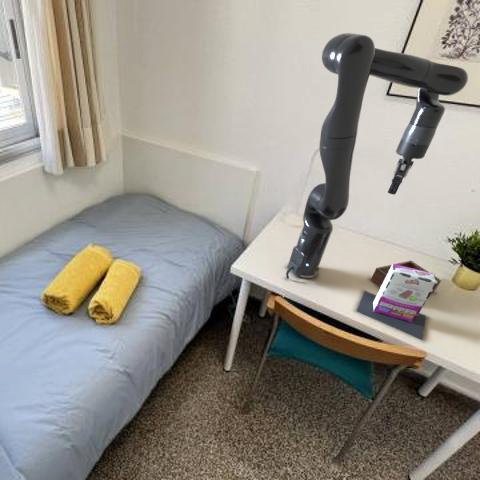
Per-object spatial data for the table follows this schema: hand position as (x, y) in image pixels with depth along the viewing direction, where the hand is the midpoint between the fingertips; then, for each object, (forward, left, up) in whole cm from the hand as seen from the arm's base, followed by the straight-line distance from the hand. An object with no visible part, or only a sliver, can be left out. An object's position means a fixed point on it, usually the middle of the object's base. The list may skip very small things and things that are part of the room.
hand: (393, 189), depth 113 cm
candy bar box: (-8, -22, -32) cm, 40 cm away
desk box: (+7, -13, -32) cm, 35 cm away
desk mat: (-9, -23, -32) cm, 40 cm away
